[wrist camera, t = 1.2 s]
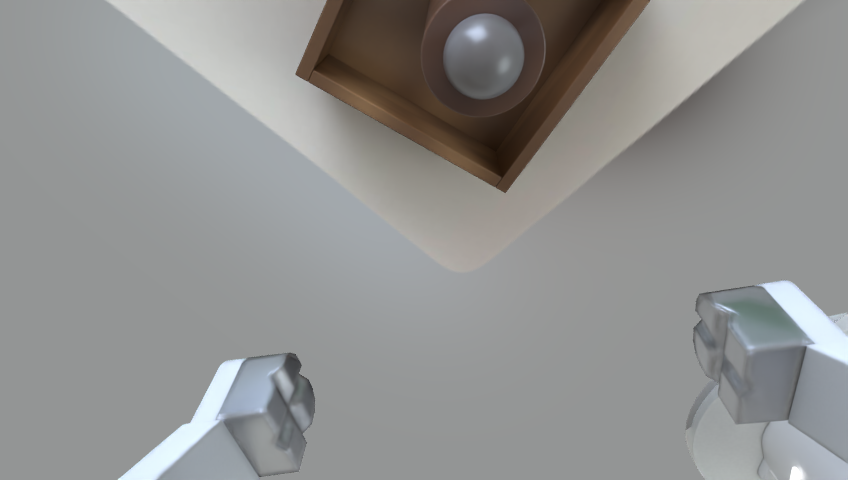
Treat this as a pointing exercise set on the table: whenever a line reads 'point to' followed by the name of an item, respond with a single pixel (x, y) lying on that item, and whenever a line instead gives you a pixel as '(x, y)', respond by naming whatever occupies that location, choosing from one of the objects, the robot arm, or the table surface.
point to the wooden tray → (418, 107)
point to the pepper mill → (482, 54)
